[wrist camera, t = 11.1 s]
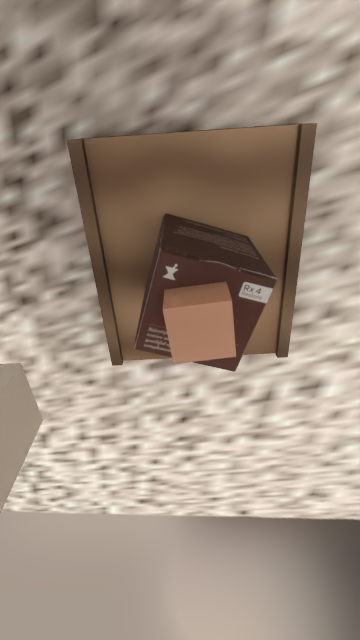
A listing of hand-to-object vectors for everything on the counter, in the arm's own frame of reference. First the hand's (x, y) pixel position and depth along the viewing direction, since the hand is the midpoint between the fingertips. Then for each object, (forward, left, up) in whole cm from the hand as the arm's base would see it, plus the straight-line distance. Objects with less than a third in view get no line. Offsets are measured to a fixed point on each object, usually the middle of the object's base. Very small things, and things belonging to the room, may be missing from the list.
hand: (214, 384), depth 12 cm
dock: (0, 0, -16) cm, 16 cm away
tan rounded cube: (0, 0, -6) cm, 6 cm away
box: (+1, 0, -13) cm, 13 cm away
